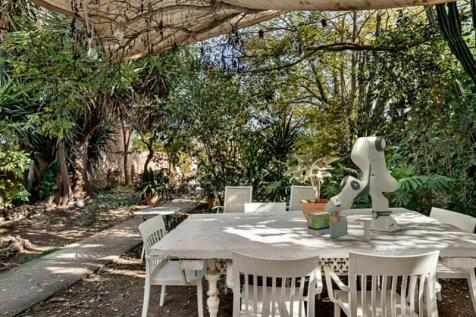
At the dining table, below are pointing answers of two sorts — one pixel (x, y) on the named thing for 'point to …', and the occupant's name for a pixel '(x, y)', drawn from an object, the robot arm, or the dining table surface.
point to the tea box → (318, 223)
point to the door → (338, 228)
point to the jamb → (367, 230)
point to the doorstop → (335, 217)
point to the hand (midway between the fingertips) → (332, 213)
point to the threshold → (355, 236)
